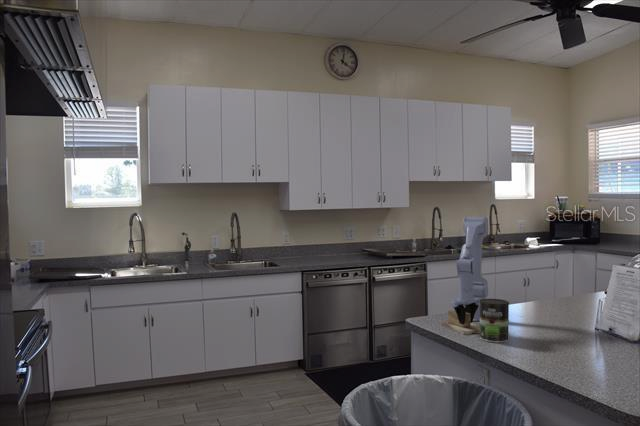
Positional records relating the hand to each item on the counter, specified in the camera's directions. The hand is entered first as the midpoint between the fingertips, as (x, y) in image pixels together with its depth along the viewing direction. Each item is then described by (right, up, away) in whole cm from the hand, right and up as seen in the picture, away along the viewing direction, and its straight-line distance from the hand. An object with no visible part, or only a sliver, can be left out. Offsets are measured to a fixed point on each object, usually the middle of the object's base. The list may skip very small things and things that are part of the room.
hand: (465, 323), depth 201 cm
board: (0, -3, +2) cm, 3 cm away
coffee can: (+6, -3, -14) cm, 16 cm away
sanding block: (-2, -1, +3) cm, 4 cm away
